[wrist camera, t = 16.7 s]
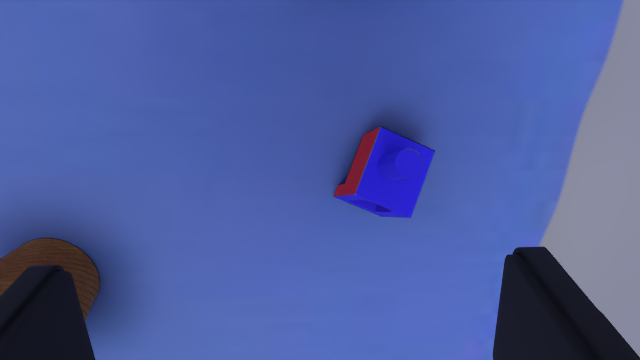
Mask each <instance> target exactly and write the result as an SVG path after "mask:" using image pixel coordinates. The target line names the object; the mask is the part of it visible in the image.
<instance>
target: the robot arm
mask: <svg viewBox="0 0 640 360" xmlns="http://www.w3.org/2000/svg"><path fill="white" fill-rule="evenodd" d="M0 360H95V357H94V353H93V350H92V346H91V342H90V339H89V335H88V331H87V328H86V324H85V320H84V317H83V313H82V309H81V306H80V302H79V298H78V295H77V291H76V287H75V284H74V280H73V277H72V274H71V273H70V272H68V271H64V269H63V268H62V266H60V265H37V266H30V267H28V268H27V269H26V270H25V271H24V272H23V273H22V274H21V275H20V276H19V277H18V278H17V279H16V280H15V281H14V282H13V283H12V284H11V285H10V286H9V287H8V288H7V290H6V291H5V292H4V293H3V294H2V295H1V296H0ZM493 360H640V358H639V356H638V355H637V354H636V353H635V351H634V350H633V349H632V348H631V347H630V345H629V344H628V343H627V342H626V341H625V339H624V338H623V337H622V336H621V335H620V334H619V332H618V331H617V330H616V329H615V328H614V326H613V325H612V324H611V323H610V322H609V321H608V319H607V318H606V317H605V316H604V315H603V314H602V313H601V312H600V311H599V310H598V309H597V308H596V307H595V306H594V304H593V303H592V302H591V301H590V300H589V299H588V297H587V296H586V295H585V294H584V292H583V291H582V290H581V289H580V288H579V287H578V285H577V284H576V283H575V282H574V281H573V280H572V278H571V277H570V276H569V275H568V273H567V272H566V271H565V270H564V269H563V267H562V266H561V265H560V264H559V263H558V261H557V260H556V259H555V258H554V257H553V255H552V254H551V253H550V252H549V251H548V250H547V249H546V248H545V247H520V248H516V249H515V250H514V252H513V255H507V256H506V258H505V263H504V270H503V278H502V286H501V294H500V301H499V309H498V317H497V325H496V332H495V340H494V348H493Z"/></svg>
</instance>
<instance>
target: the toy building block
mask: <svg viewBox="0 0 640 360" xmlns="http://www.w3.org/2000/svg"><path fill="white" fill-rule="evenodd" d="M434 153H435V150H432V149H430V148H428V147H426V146H424V145H421V144H419V143H417V142H415V141H412V140H410V139H408V138H406V137H403V136H401V135H399V134H397V133H395V132H392V131H390V130H388V129H386V128H383V127H381V126H380V127H378V128H377V129H375V130H373V131H371V132H369V133H367V134H365V135H363V137H362V140H361V143H360V145H359V148H358V150H357V153H356V156H355V158H354V161H353V163H352V166H351V169H350V171H349V174H348V176H347V179H346V181H345V184H341V185H338V187H337V189H336V192H335V194H334V197H336V198H338V199H341V200H343V201H345V202H348V203H350V204H353V205H355V206H357V207H360V208H362V209H365V210H367V211H369V212H372V213H374V214H377V215H379V216H382V217H406V218H411V216H412V213H413V211H414V208H415V205H416V202H417V200H418V197H419V194H420V191H421V189H422V186H423V183H424V180H425V178H426V175H427V172H428V169H429V167H430V164H431V161H432V158H433V156H434Z"/></svg>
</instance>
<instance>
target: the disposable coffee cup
mask: <svg viewBox="0 0 640 360" xmlns="http://www.w3.org/2000/svg"><path fill="white" fill-rule="evenodd" d="M37 265H60V266H62V268H63V269H64V271H68V272H70V273H71V274H72V277H73V280H74V284H75V287H76V291H77V295H78V298H79V302H80V306H81V309H82V313H83V317H84V320H86V317H87V315H88V313H89V311H90V309H91V307H92V304H93V303H94V300H95V298H96V297H97V294H98V292H99V286H100V280H99V274H98V271H97V269H96V267H95V265H94V264H93V262H92V261H91V259H90V258H89V257H88V256H87V255H86V254H85V253H84V252H83V251H81V250H80V249H79V248H77V247H75V246H74V245H72V244H70V243H67V242H65V241H61V240H56V239H50V238H42V239H35V240H32V241H29V242H27V243H25V244H23V245H21V246H20V247H19V248H17V249H16V250H14V251H12V252H11V253H9V254H8V255H6V256H5V257H3V258H1V259H0V296H1V295H2V294H3V293H4V292H5V291H6V290H7V288H8V287H9V286H10V285H11V284H12V283H13V282H14V281H15V280H16V279H17V278H18V277H19V276H20V275H21V274H22V273H23V272H24V271H25V270H26V269H27V268H28V267H30V266H37Z"/></svg>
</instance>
